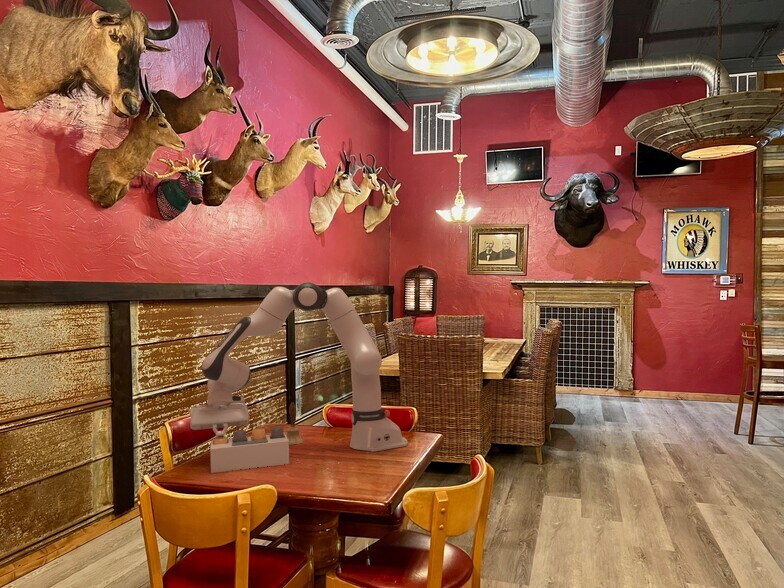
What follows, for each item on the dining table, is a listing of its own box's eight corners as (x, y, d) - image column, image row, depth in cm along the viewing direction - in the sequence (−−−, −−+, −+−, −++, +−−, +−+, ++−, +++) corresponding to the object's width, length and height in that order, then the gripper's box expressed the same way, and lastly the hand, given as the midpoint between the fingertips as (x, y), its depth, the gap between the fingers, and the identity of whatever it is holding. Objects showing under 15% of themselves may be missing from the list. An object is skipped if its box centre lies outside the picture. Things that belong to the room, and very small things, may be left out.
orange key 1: (227, 454, 193) (227, 436, 193) (227, 458, 189) (227, 439, 189) (214, 455, 192) (214, 437, 192) (214, 459, 188) (213, 440, 188)
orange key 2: (264, 445, 197) (264, 427, 197) (265, 449, 193) (265, 430, 193) (252, 447, 196) (251, 429, 196) (253, 450, 191) (252, 432, 191)
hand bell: (307, 441, 219) (306, 401, 219) (293, 446, 212) (292, 405, 212) (292, 438, 223) (291, 399, 223) (278, 443, 216) (277, 403, 216)
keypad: (285, 454, 201) (285, 431, 201) (289, 464, 189) (288, 439, 189) (212, 462, 193) (211, 439, 193) (211, 473, 182) (210, 448, 182)
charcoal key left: (283, 443, 199) (282, 426, 199) (284, 447, 195) (283, 429, 195) (270, 445, 198) (270, 427, 198) (271, 448, 193) (271, 430, 193)
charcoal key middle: (246, 447, 195) (245, 429, 195) (246, 451, 191) (246, 432, 191) (233, 449, 194) (233, 430, 194) (233, 452, 190) (233, 433, 190)
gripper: (189, 401, 195) (188, 434, 185) (248, 396, 201) (250, 429, 191) (190, 410, 199) (189, 444, 190) (248, 406, 205) (249, 438, 196)
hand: (220, 436), depth 190 cm, fingers closed, pressing on orange key 1
